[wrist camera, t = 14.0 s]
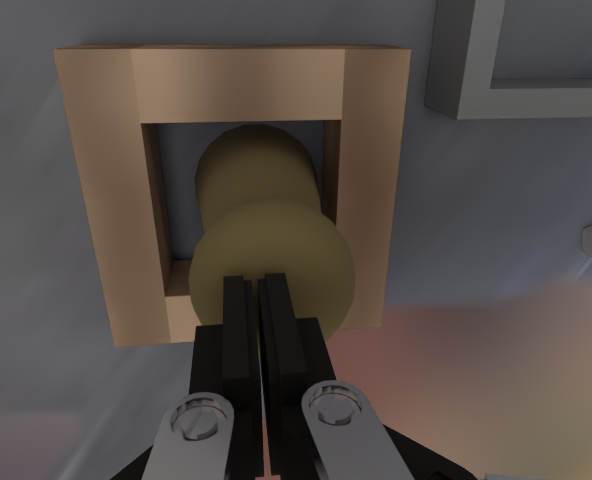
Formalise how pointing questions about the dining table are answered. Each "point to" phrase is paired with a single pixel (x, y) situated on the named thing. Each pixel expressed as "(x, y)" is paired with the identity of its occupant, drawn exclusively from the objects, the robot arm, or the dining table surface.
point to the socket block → (226, 108)
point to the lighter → (587, 240)
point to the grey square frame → (490, 71)
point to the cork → (267, 228)
